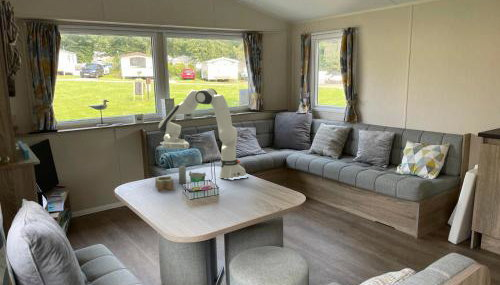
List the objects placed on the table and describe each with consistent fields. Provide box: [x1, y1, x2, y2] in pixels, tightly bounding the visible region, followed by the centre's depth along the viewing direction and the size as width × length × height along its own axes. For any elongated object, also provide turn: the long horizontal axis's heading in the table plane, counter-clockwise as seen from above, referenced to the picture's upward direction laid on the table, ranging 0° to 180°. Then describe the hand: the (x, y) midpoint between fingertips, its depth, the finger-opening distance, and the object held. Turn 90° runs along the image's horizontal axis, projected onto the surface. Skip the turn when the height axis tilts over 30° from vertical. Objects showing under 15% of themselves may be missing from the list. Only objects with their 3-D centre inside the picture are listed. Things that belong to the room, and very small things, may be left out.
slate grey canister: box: [178, 165, 187, 185], centre depth 265 cm, size 5×5×12 cm
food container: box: [188, 170, 207, 183], centre depth 257 cm, size 12×6×10 cm, turn 73°
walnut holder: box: [154, 175, 175, 192], centre depth 254 cm, size 10×14×6 cm
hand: (178, 147), depth 272 cm, fingers open, 8 cm apart
